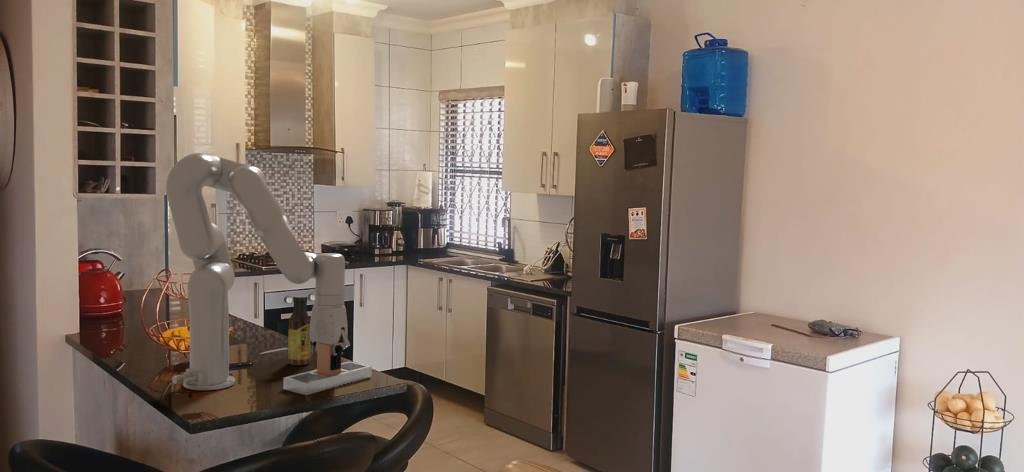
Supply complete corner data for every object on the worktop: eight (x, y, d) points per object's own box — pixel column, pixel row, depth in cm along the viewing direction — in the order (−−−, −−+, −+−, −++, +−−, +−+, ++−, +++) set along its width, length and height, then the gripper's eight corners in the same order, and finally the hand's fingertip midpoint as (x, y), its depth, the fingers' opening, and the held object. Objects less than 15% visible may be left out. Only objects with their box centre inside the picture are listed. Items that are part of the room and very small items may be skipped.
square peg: (328, 382, 209) (329, 345, 208) (316, 379, 211) (317, 342, 210) (340, 379, 212) (341, 342, 211) (329, 376, 215) (329, 340, 214)
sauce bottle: (303, 367, 227) (304, 298, 226) (283, 365, 229) (284, 297, 227) (314, 362, 234) (314, 295, 232) (294, 360, 235) (295, 294, 234)
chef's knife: (248, 355, 242) (253, 356, 240) (248, 351, 242) (253, 352, 240) (302, 346, 256) (307, 347, 254) (302, 342, 256) (307, 343, 254)
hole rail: (306, 395, 200) (306, 383, 199) (283, 389, 204) (283, 377, 204) (371, 376, 219) (371, 366, 219) (349, 371, 224) (349, 361, 224)
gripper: (297, 298, 211) (296, 365, 213) (342, 305, 202) (340, 375, 204) (318, 295, 218) (317, 360, 219) (363, 302, 208) (361, 370, 210)
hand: (328, 367), depth 211 cm, fingers closed on square peg, 4 cm apart
